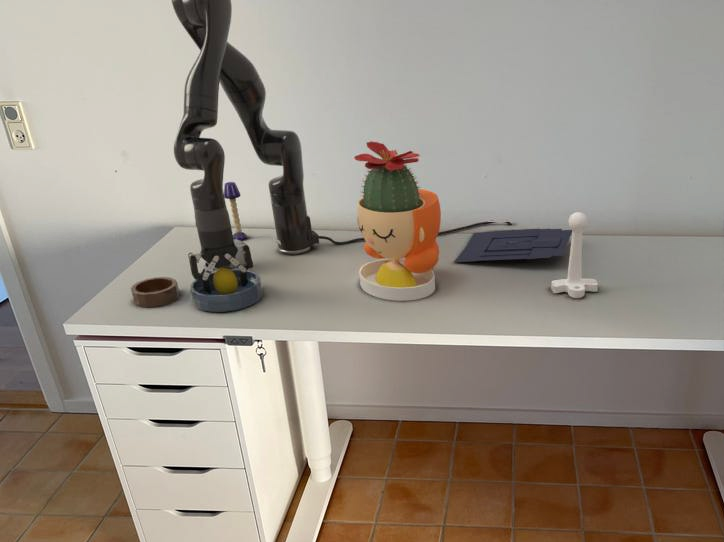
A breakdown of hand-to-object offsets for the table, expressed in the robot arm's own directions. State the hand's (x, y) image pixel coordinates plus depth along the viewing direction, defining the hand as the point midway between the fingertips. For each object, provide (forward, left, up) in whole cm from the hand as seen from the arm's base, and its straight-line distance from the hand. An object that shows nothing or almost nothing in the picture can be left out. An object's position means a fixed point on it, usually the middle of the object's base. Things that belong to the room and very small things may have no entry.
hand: (226, 289), depth 174 cm
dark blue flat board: (-77, +12, -3) cm, 78 cm away
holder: (+15, -10, -3) cm, 18 cm away
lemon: (0, 0, -2) cm, 2 cm away
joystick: (-74, +43, -3) cm, 86 cm away
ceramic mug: (-5, -20, -3) cm, 21 cm away
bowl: (0, 0, -3) cm, 3 cm away
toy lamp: (-14, -42, -3) cm, 44 cm away
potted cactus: (-41, +14, -3) cm, 43 cm away
